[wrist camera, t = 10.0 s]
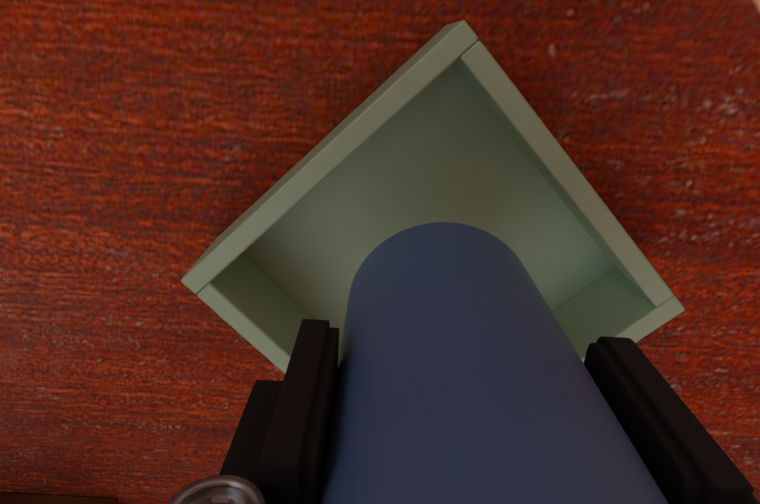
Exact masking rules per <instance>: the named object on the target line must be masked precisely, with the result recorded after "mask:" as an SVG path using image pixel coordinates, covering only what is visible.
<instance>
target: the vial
mask: <svg viewBox="0 0 760 504" xmlns="http://www.w3.org/2000/svg"><path fill="white" fill-rule="evenodd" d="M318 504H669V503H668V502H667V500H666V499H665V497H664V495H663V494H662V492H661V490H660V489H659V487H658V485H657V484H656V482H655V480H654V479H653V477H652V476H651V474H650V472H649V471H648V469H647V467H646V466H645V464H644V462H643V461H642V459H641V457H640V456H639V454H638V453H637V451H636V449H635V448H634V446H633V444H632V443H631V441H630V439H629V438H628V436H627V434H626V433H625V431H624V429H623V428H622V426H621V425H620V423H619V421H618V420H617V418H616V416H615V415H614V413H613V411H612V410H611V408H610V406H609V405H608V403H607V402H606V400H605V398H604V397H603V395H602V393H601V392H600V390H599V388H598V387H597V385H596V383H595V382H594V380H593V379H592V377H591V375H590V374H589V372H588V370H587V369H586V367H585V365H584V364H583V362H582V360H581V359H580V357H579V355H578V354H577V352H576V351H575V349H574V347H573V346H572V344H571V342H570V341H569V339H568V337H567V336H566V334H565V332H564V331H563V329H562V328H561V326H560V324H559V323H558V321H557V319H556V318H555V316H554V314H553V313H552V311H551V309H550V308H549V306H548V305H547V303H546V301H545V300H544V298H543V296H542V295H541V293H540V291H539V290H538V288H537V286H536V285H535V283H534V281H533V280H532V278H531V277H530V275H529V273H528V272H527V270H526V268H525V267H524V265H523V263H522V262H521V261H520V259H519V258H518V256H517V255H516V254H515V253H514V252H513V251H512V250H511V249H510V248H509V246H508V245H506V244H505V243H504V242H502V241H501V240H500V239H499V238H497V237H495V236H494V235H492V234H490V233H488V232H486V231H484V230H481V229H479V228H476V227H473V226H469V225H465V224H460V223H452V222H435V223H427V224H422V225H418V226H414V227H411V228H408V229H405V230H403V231H400V232H398V233H397V234H395V235H393V236H391V237H389V238H388V239H386V240H385V241H384V242H382V243H381V244H379V245H378V246H377V247H376V248H375V249H374V250H373V251H372V252H371V253H370V254H369V255H368V256H367V257H366V259H365V260H364V261H363V262H362V264H361V266H360V267H359V269H358V271H357V272H356V274H355V277H354V279H353V282H352V284H351V288H350V292H349V297H348V304H347V310H346V317H345V323H344V330H343V336H342V343H341V349H340V356H339V362H338V372H337V378H336V385H335V392H334V398H333V405H332V411H331V418H330V425H329V431H328V438H327V444H326V451H325V458H324V464H323V471H322V477H321V484H320V490H319V497H318Z"/></svg>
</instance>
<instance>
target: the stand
mask: <svg viewBox="0 0 760 504" xmlns="http://www.w3.org/2000/svg"><path fill="white" fill-rule="evenodd" d="M0 504H117V501H116V499H115V498H99V497H80V496H61V495H41V494H22V493H3V492H0Z"/></svg>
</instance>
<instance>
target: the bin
mask: <svg viewBox="0 0 760 504" xmlns="http://www.w3.org/2000/svg"><path fill="white" fill-rule="evenodd" d="M477 40H478V37H477V35H476V34H475V33H474V31H473V30H472V29H471V28H470V26H469V25H468V24H467V22H466V21H464V20H461V21H458V22H454V23H450V24H447V25H445V26H444V27H443V28H442V29H441V30H440V31H439V32H438V33H437V34H436V35H435V36H433V37H432V38H431V39H430V40H429V41H428V42H427V43H426V44H425V45H424V46H423V47H422V48H421V49H419V50H418V51H417V52H416V53H415V54H414V55H413V56H412V57H411V58H410V59H409V60H408V61H407V62H405V63H404V64H403V65H402V66H401V67H400V68H399V69H398V70H397V71H396V72H395V73H394V74H393V75H391V76H390V77H389V78H388V79H387V80H386V81H385V82H384V83H383V84H382V85H381V86H380V87H379V88H377V89H376V90H375V91H374V92H373V93H372V94H371V95H370V96H369V97H368V98H367V99H366V100H365V101H363V102H362V103H361V104H360V105H359V106H358V107H357V108H356V109H355V110H354V111H353V112H352V113H351V114H349V115H348V116H347V117H346V118H345V119H344V120H343V121H342V122H341V123H340V124H339V125H338V126H337V127H335V128H334V129H333V130H332V131H331V132H330V133H329V134H328V135H327V136H326V137H325V138H324V139H323V140H321V141H320V142H319V143H318V144H317V145H316V146H315V147H314V148H313V149H312V150H311V151H310V152H309V153H307V154H306V155H305V156H304V157H303V158H302V159H301V160H300V161H299V162H298V163H297V164H296V165H295V166H293V167H292V168H291V169H290V170H289V171H288V172H287V173H286V174H285V175H284V176H283V177H282V178H281V179H279V180H278V181H277V182H276V183H275V184H274V185H273V186H272V187H271V188H270V189H269V190H268V191H267V192H265V193H264V194H263V195H262V196H261V197H260V198H259V199H258V200H257V201H256V202H255V203H254V204H253V205H251V206H250V207H249V208H248V209H247V210H246V211H245V212H244V213H243V214H242V215H241V216H240V217H239V218H237V219H236V220H235V221H234V222H233V223H232V224H231V225H230V226H229V227H228V228H227V229H226V230H225V231H223V232H222V233H221V234H220V235H219V236H218V237H217V238H216V239H215V240H214V241H213V243H212V244H211V245H210V246H209V247H208V249H207V250H206V251H205V252H204V253H203V254H202V255H201V257H200V258H199V259H198V260H197V261H196V262H195V264H194V265H193V266H192V267H191V268H190V269H189V271H188V272H187V273H186V274H185V275H184V276H183V278H182V279H181V282H182V283H183V284H184V285H185V286H187V287H188V288H189V289H190V290H191V291H192V292H193V293H195V294H196V293H197V296H198V297H199V298H200V299H201V300H202V301H203V302H204V303H206V304H207V305H208V306H209V307H210V308H211V309H212V310H213V311H215V312H216V313H217V314H218V315H219V316H220V317H221V318H222V319H224V320H225V321H226V322H227V323H228V324H229V325H230V326H231V327H233V328H234V329H235V330H236V331H237V332H238V333H239V334H240V335H242V336H243V337H244V338H245V339H246V340H247V341H248V342H249V343H251V344H252V345H253V346H254V347H255V348H256V349H257V350H258V351H260V352H261V353H262V354H263V355H264V356H265V357H266V358H267V359H269V360H270V361H271V362H272V363H273V364H274V365H275V366H276V367H278V368H279V369H280V370H281V371H282V372H283V373H284V374H286V370H287V367H288V364H289V361H290V357H291V354H292V351H293V348H294V344H295V341H296V338H297V335H298V331H299V328H300V325H301V322H302V319H316V320H329V323H330V327H333V328H339V351H338V362H339V356H340V349H341V343H342V336H343V330H344V323H345V317H346V310H347V304H348V297H349V292H350V288H351V284H352V282H353V279H354V277H355V274H356V272H357V271H358V269H359V267H360V266H361V264H362V262H363V261H364V260H365V259H366V257H367V256H368V255H369V254H370V253H371V252H372V251H373V250H374V249H375V248H376V247H377V246H378V245H379V244H381V243H382V242H384V241H385V240H386V239H388V238H389V237H391V236H393V235H395V234H397V233H398V232H400V231H403V230H405V229H408V228H411V227H414V226H418V225H422V224H427V223H435V222H452V223H460V224H465V225H469V226H473V227H476V228H479V229H481V230H484V231H486V232H488V233H490V234H492V235H494V236H495V237H497V238H499V239H500V240H501V241H502V242H504V243H505V244H506V245H508V246H509V248H510V249H511V250H512V251H513V252H514V253H515V254H516V255H517V256H518V258H519V259H520V261H521V262H522V263H523V265H524V267H525V268H526V270H527V272H528V273H529V275H530V277H531V278H532V280H533V281H534V283H535V285H536V286H537V288H538V290H539V291H540V293H541V295H542V296H543V298H544V300H545V301H546V303H547V305H548V306H549V308H550V309H551V311H552V313H553V314H554V316H555V318H556V319H557V321H558V323H559V324H560V326H561V328H562V329H563V331H564V332H565V334H566V336H567V337H568V339H569V341H570V342H571V344H572V346H573V347H574V349H575V351H576V352H577V354H578V355H579V357H580V359H581V360H582V362H583V364H584V360H585V355H586V351H587V348H588V345H589V344H590V343H596V341H597V340H598V338H599V337H601V336H607V337H624V338H630V339H632V340H633V341H634V343H636V342H637V341H639V340H640V339H642V338H643V337H645V336H646V335H648V334H649V333H651V332H652V331H654V330H656V329H657V328H659V327H660V326H662V325H663V324H665V323H666V322H668V321H669V320H671V319H672V318H674V317H675V316H677V315H678V314H680V313H681V312H683V311H684V310H685V309H684V307H683V306H682V304H681V303H680V302H679V300H678V299H677V298H676V296H674V295H673V293H672V291H671V290H670V289H669V287H668V286H667V285H666V283H665V282H664V281H663V280H662V278H661V277H660V276H659V274H658V273H657V272H656V270H655V269H654V268H653V266H652V265H651V264H650V262H649V261H648V260H647V259H646V257H645V256H644V255H643V253H642V252H641V251H640V249H639V248H638V247H637V245H636V244H635V243H634V241H633V240H632V239H631V238H630V236H629V235H628V234H627V232H626V231H625V230H624V228H623V227H622V226H621V224H620V223H619V222H618V220H617V219H616V218H615V217H614V215H613V214H612V213H611V211H610V210H609V209H608V207H607V206H606V205H605V203H604V202H603V201H602V199H601V198H600V197H599V196H598V194H597V193H596V192H595V190H594V189H593V188H592V186H591V185H590V184H589V182H588V181H587V180H586V178H585V177H584V176H583V175H582V173H581V172H580V171H579V169H578V168H577V167H576V165H575V164H574V163H573V161H572V160H571V159H570V157H569V156H568V155H567V154H566V152H565V151H564V150H563V148H562V147H561V146H560V144H559V143H558V142H557V140H556V139H555V138H554V136H553V135H552V134H551V133H550V131H549V130H548V129H547V127H546V126H545V125H544V123H543V122H542V121H541V119H540V118H539V117H538V115H537V114H536V113H535V112H534V110H533V109H532V108H531V106H530V105H529V104H528V102H527V101H526V100H525V98H524V97H523V96H522V94H521V93H520V92H519V91H518V89H517V88H516V87H515V85H514V84H513V83H512V81H511V80H510V79H509V77H508V76H507V75H506V73H505V72H504V71H503V70H502V68H501V67H500V66H499V64H498V63H497V62H496V60H495V59H494V58H493V56H492V55H491V54H490V52H489V51H488V50H487V49H486V47H485V46H484V45H483V43H482V42H481V41H477Z"/></svg>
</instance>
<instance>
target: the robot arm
mask: <svg viewBox="0 0 760 504" xmlns="http://www.w3.org/2000/svg"><path fill="white" fill-rule="evenodd" d="M338 351H339V328H333V327H330V323H329V320H316V319H302V322H301V325H300V328H299V331H298V335H297V338H296V341H295V344H294V348H293V351H292V354H291V357H290V361H289V364H288V367H287V370H286V374H285V377H284V380H283V381H269V380H257V381H256V382H255V384H254V386H253V389H252V391H251V394H250V396H249V399H248V402H247V404H246V407H245V409H244V412H243V414H242V417H241V420H240V422H239V425H238V427H237V430H236V432H235V435H234V438H233V440H232V443H231V445H230V448H229V450H228V453H227V456H226V458H225V461H224V463H223V466H222V468H221V471H220V474H219V475H214V476H210V477H206V478H203V479H199V480H197V481H195V482H193V483H191V484H189V485H187V486H185V487H183V488H182V489H181V490H180V491H179V492H177V493H176V494H175V495H174V496H173V497H172V498H171V499H170V500H169V502H168V503H167V504H318V497H319V490H320V484H321V477H322V471H323V464H324V458H325V451H326V444H327V438H328V431H329V425H330V418H331V411H332V405H333V398H334V392H335V385H336V378H337V372H338ZM584 365H585V367H586V369H587V370H588V372H589V374H590V375H591V377H592V379H593V380H594V382H595V383H596V385H597V387H598V388H599V390H600V392H601V393H602V395H603V397H604V398H605V400H606V402H607V403H608V405H609V406H610V408H611V410H612V411H613V413H614V415H615V416H616V418H617V420H618V421H619V423H620V425H621V426H622V428H623V429H624V431H625V433H626V434H627V436H628V438H629V439H630V441H631V443H632V444H633V446H634V448H635V449H636V451H637V453H638V454H639V456H640V457H641V459H642V461H643V462H644V464H645V466H646V467H647V469H648V471H649V472H650V474H651V476H652V477H653V479H654V480H655V482H656V484H657V485H658V487H659V489H660V490H661V492H662V494H663V495H664V497H665V499H666V500H667V502H668V503H669V504H760V503H759V502H758V501H757V499H756V498H755V497H754V496H753V494H752V493H753V491H754V488H753V487H752V485H751V484H750V483H749V482H748V481H747V479H746V478H745V477H744V476H743V474H742V473H741V472H740V471H739V470H738V468H737V467H736V466H735V465H734V463H733V462H732V461H731V460H730V459H729V457H728V456H727V455H726V454H725V452H724V451H723V450H722V449H721V448H720V446H719V445H718V444H717V443H716V441H715V440H714V439H713V438H712V437H711V435H710V434H709V433H708V432H707V430H706V429H705V428H704V427H703V426H702V424H701V423H700V422H699V421H698V419H697V418H696V417H695V416H694V415H693V413H692V412H691V411H690V410H689V409H688V407H687V406H686V405H685V404H684V402H683V401H682V400H681V399H680V398H679V396H678V395H677V394H676V393H675V391H674V390H673V389H672V388H671V387H670V385H669V384H668V383H667V382H666V380H665V379H664V378H663V377H662V376H661V374H660V373H659V372H658V371H657V369H656V368H655V367H654V366H653V365H652V363H651V362H650V361H649V360H648V358H647V357H646V356H645V355H644V354H643V352H642V351H641V350H640V349H639V347H638V346H637V345H636V344H635V343H634V341H633V340H632V339H630V338H624V337H607V336H601V337H599V338H598V340H597V341H596V343H590V344H589V345H588V348H587V351H586V355H585V360H584Z"/></svg>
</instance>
